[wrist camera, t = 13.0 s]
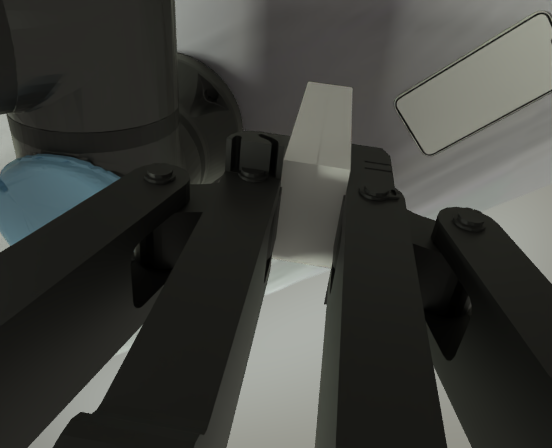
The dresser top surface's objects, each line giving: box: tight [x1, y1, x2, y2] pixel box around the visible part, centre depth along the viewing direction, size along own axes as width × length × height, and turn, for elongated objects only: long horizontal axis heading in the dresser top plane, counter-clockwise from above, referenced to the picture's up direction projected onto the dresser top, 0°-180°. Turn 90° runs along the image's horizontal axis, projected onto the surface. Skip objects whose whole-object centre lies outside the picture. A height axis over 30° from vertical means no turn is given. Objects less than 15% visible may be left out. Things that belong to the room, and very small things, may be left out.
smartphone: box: [394, 11, 552, 156], centre depth 47 cm, size 7×1×15 cm
